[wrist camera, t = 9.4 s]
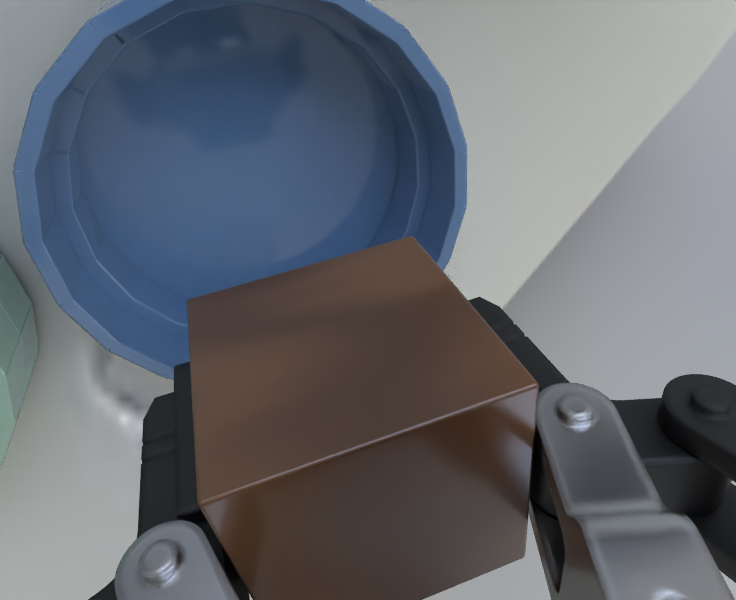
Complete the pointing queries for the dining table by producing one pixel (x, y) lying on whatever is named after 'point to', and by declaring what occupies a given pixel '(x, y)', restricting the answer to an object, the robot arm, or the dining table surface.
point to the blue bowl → (228, 157)
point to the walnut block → (359, 430)
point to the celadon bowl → (14, 351)
